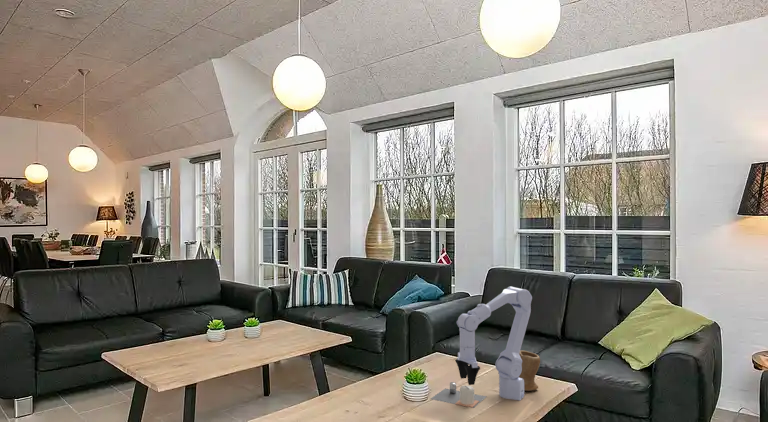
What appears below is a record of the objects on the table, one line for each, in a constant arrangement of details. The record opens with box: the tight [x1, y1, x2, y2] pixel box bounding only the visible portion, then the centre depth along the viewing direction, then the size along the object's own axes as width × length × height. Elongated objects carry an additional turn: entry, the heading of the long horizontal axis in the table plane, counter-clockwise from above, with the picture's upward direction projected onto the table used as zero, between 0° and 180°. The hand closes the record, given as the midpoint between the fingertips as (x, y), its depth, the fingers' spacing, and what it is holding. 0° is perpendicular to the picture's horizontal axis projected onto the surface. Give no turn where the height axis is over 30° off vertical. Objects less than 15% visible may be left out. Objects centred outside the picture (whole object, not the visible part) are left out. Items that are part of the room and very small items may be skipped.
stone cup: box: [519, 349, 541, 392], centre depth 217 cm, size 15×12×15 cm
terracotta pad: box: [454, 400, 480, 409], centre depth 195 cm, size 7×7×1 cm
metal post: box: [449, 381, 457, 394], centre depth 206 cm, size 3×3×4 cm
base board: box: [430, 388, 487, 409], centre depth 201 cm, size 18×14×1 cm
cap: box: [459, 385, 475, 405], centre depth 195 cm, size 5×5×6 cm
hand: (467, 381), depth 195 cm, fingers open, 7 cm apart
